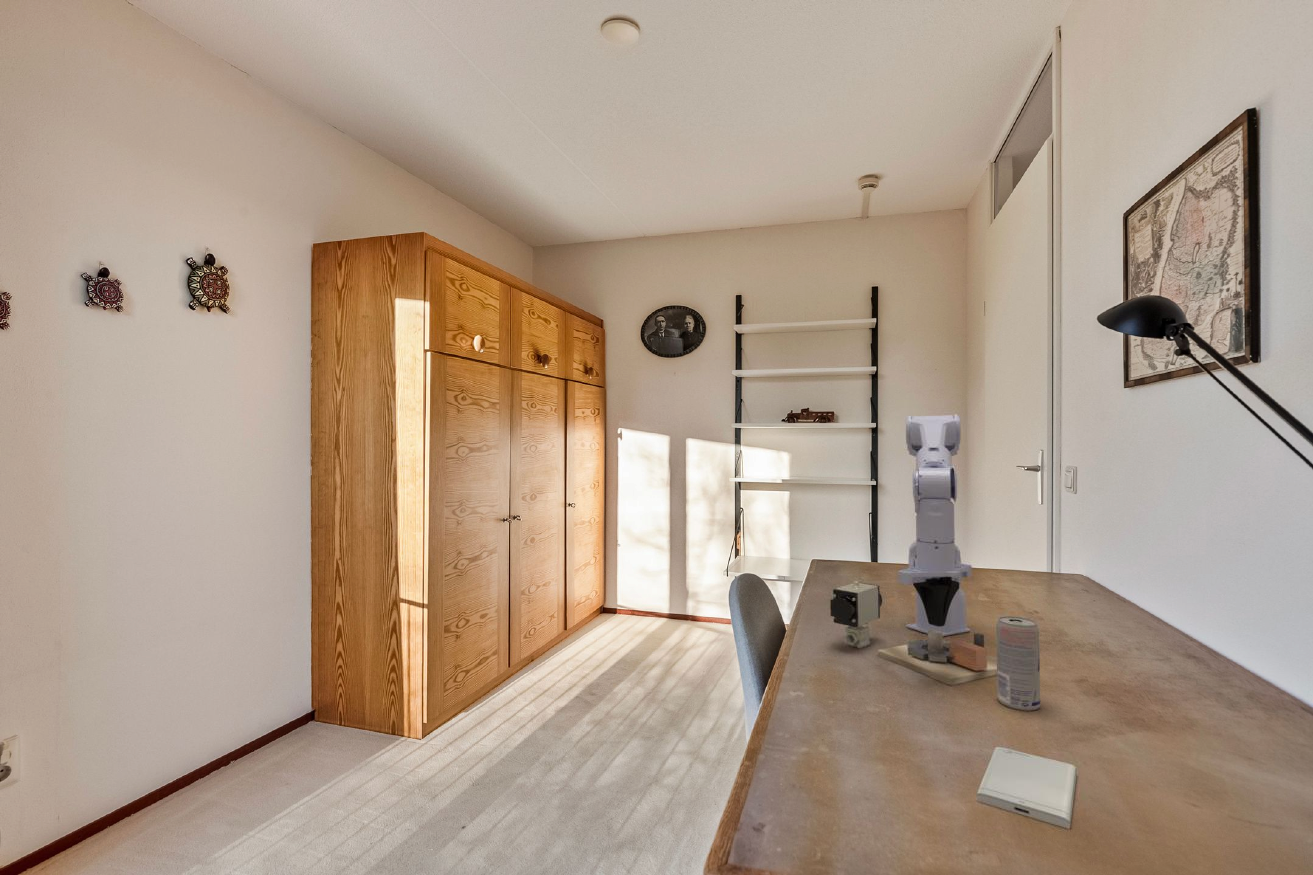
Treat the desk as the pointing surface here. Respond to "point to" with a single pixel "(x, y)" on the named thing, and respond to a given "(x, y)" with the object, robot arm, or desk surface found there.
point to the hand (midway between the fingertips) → (936, 624)
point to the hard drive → (1029, 786)
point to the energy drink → (1018, 663)
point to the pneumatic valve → (856, 610)
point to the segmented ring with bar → (952, 653)
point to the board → (936, 669)
